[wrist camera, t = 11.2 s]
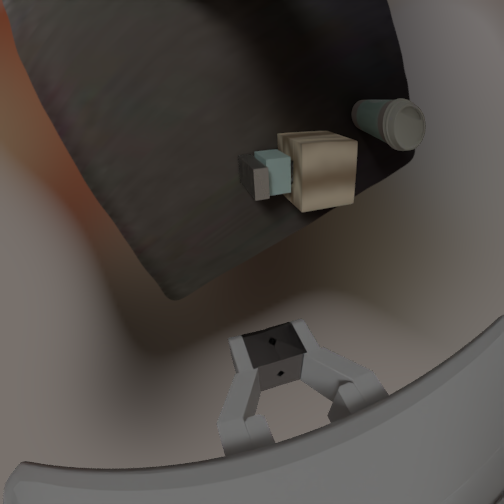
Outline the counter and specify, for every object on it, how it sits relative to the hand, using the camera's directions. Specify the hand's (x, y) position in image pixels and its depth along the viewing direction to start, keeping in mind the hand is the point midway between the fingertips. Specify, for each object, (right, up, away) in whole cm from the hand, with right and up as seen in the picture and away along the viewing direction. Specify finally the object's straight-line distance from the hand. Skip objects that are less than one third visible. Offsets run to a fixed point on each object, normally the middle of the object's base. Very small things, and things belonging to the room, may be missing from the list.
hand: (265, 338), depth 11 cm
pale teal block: (+2, +17, +32) cm, 36 cm away
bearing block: (+8, +19, +34) cm, 40 cm away
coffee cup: (+19, +28, +32) cm, 47 cm away
